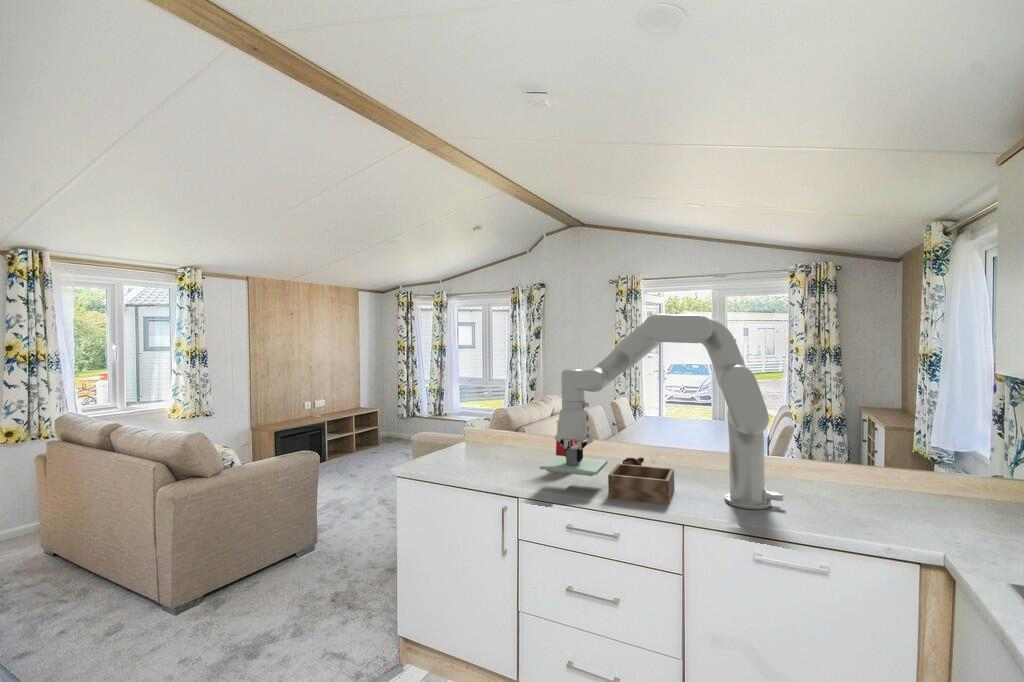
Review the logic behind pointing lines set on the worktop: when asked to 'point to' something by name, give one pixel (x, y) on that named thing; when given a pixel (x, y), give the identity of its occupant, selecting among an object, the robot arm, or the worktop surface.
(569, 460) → the lid
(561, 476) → the worktop surface
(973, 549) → the worktop surface
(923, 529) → the worktop surface
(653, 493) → the box
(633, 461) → the icecream
